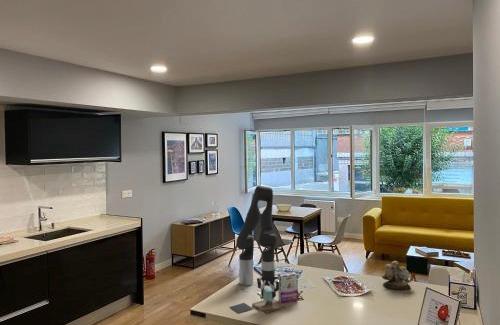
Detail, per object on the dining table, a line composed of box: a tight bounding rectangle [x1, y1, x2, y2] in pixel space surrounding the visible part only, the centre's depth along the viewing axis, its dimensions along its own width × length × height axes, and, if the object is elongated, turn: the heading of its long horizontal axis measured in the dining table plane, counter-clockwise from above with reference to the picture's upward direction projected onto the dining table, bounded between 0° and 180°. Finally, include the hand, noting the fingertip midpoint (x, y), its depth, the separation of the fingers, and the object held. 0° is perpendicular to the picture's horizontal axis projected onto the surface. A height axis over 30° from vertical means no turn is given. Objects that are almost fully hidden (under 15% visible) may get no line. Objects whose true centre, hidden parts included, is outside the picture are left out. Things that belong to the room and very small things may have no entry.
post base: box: [251, 298, 287, 315], centre depth 217 cm, size 14×14×8 cm
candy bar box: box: [277, 271, 299, 304], centre depth 226 cm, size 11×5×16 cm, turn 105°
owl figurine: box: [381, 260, 412, 291], centre depth 244 cm, size 18×12×17 cm, turn 79°
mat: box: [229, 302, 254, 314], centre depth 216 cm, size 10×10×1 cm
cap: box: [262, 287, 275, 301], centre depth 217 cm, size 6×6×6 cm
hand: (268, 296), depth 217 cm, fingers closed on cap, 6 cm apart
